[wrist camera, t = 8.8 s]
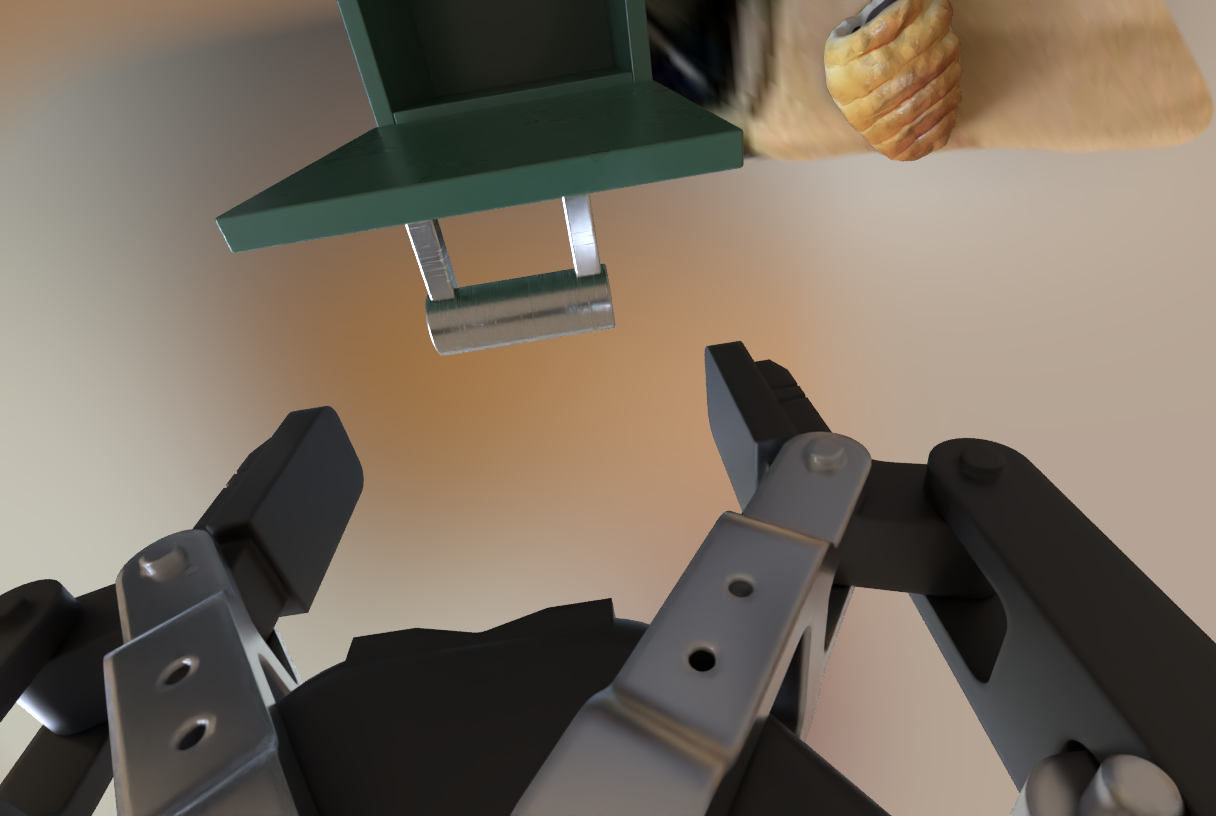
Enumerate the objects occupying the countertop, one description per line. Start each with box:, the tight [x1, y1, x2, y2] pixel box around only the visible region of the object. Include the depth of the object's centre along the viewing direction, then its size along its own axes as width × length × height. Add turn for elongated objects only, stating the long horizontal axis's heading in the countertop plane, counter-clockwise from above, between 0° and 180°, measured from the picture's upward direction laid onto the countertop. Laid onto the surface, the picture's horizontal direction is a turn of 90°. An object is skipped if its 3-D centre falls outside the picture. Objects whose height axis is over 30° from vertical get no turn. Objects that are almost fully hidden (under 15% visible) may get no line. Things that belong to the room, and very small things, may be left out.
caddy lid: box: [216, 80, 743, 356], centre depth 19 cm, size 13×12×5 cm
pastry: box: [824, 0, 963, 161], centre depth 33 cm, size 9×7×4 cm
